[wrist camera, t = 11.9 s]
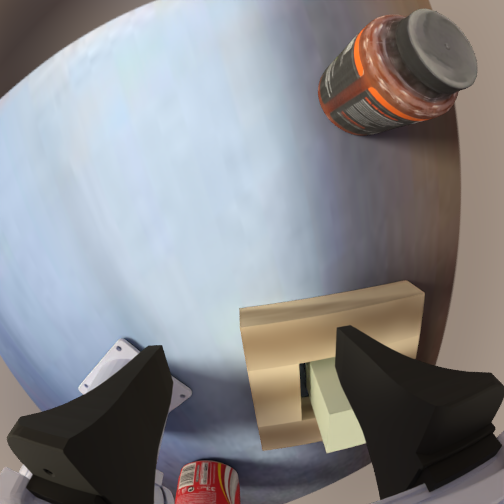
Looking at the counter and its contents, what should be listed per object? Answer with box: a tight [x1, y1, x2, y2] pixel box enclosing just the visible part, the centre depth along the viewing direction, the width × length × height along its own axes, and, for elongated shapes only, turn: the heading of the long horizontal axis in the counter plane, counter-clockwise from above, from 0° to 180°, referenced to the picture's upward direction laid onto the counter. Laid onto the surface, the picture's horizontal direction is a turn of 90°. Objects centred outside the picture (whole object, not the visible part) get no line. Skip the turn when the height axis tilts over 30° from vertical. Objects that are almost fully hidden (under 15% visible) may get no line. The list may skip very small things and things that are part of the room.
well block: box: [239, 280, 425, 451], centre depth 23 cm, size 14×14×3 cm
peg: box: [305, 357, 366, 453], centre depth 20 cm, size 4×4×8 cm
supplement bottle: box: [318, 9, 477, 135], centre depth 13 cm, size 6×6×11 cm
